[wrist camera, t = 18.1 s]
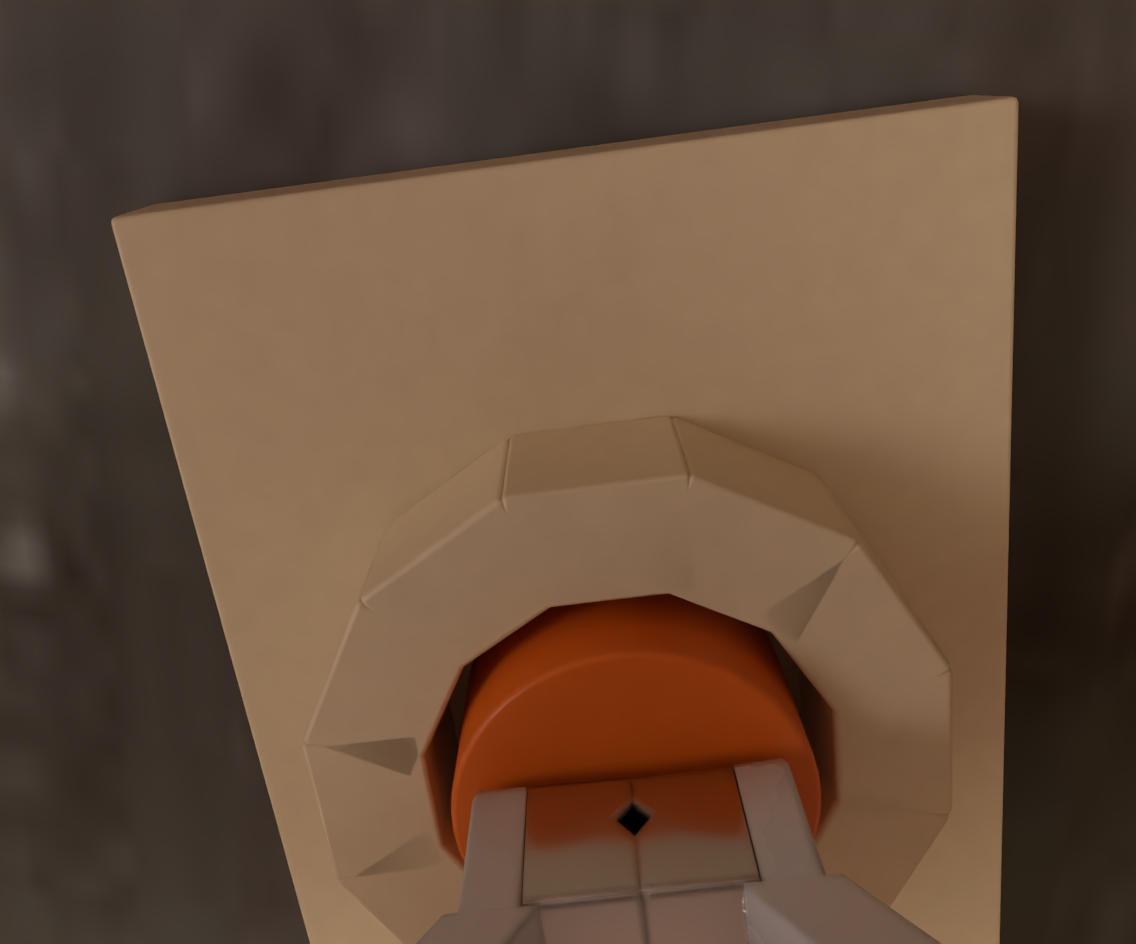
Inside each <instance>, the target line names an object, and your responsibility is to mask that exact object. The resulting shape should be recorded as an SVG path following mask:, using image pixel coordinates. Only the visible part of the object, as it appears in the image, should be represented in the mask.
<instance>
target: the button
mask: <svg viewBox="0 0 1136 944" xmlns="http://www.w3.org/2000/svg"><path fill="white" fill-rule="evenodd" d="M778 758H783V759H784V760H785V761H786V762H788V764H789V767H790V770H791V773H792V775H793V778H794V781H795V784H796V787H797V790H798V793H799V796H800V799H801V802H802V805H803V808H804V811H805V814H806V817H807V820H808V823H809V826H810V829H811V832H812V835H813V838H814V839H815V836H816V833H817V829H818V823H819V818H820V813H821V785H820V778H819V771H818V767H817V764H816V761H815V757H814V754H813V751H812V748H811V746H810V743H809V740H808V738H807V735H806V732H805V730H804V727H803V724H802V722H801V719H800V716H799V714H798V711H797V708H796V706H795V703H794V700H793V698H792V695H791V692H790V690H789V687H788V684H787V682H786V679H785V676H784V674H783V671H782V668H781V666H780V663H779V660H778V657H777V655H776V652H775V649H774V647H773V645H772V643H771V641H770V639H769V637H768V635H767V633H766V631H765V630H764V629H762V628H759V627H756V626H754V625H751V624H748V623H746V622H743V621H740V620H738V619H735V618H733V617H730V616H727V615H725V614H722V613H719V612H717V611H714V610H711V609H709V608H706V607H703V606H701V605H698V604H695V603H693V602H690V601H687V600H685V599H682V598H680V597H677V596H674V595H672V594H669V593H667V594H659V595H650V596H642V597H633V598H625V599H616V600H607V601H599V602H590V603H582V604H573V605H565V606H556V607H550V608H548V609H547V610H545V611H544V612H543V613H541V614H540V615H538V616H537V617H535V618H534V619H532V620H531V621H529V622H528V623H526V624H525V625H524V626H522V627H521V628H519V629H518V630H516V631H515V632H513V633H512V634H510V635H509V636H507V637H506V638H505V639H503V640H502V641H500V642H499V643H497V644H496V645H494V646H493V647H491V648H490V649H488V650H487V651H486V652H484V653H483V654H481V655H480V656H478V657H477V658H475V659H474V661H473V664H472V667H471V672H470V677H469V682H468V688H467V695H466V702H465V708H464V715H463V721H462V728H461V734H460V741H459V747H458V754H457V761H456V767H455V774H454V780H453V787H452V798H451V816H452V824H453V832H454V835H455V839H456V842H457V846H458V849H459V852H460V854H461V856H462V858H463V861H464V863H465V856H466V848H467V840H468V832H469V825H470V817H471V809H472V801H473V799H474V798H475V796H476V794H477V792H478V791H488V790H498V789H507V788H517V787H526V788H529V786H536V785H548V784H560V783H571V782H583V781H594V780H606V779H618V778H629V777H630V778H638V777H647V776H655V775H664V774H673V773H682V772H690V771H699V770H708V769H717V768H726V767H732V765H735V764H742V763H749V762H757V761H764V760H771V759H778Z"/></svg>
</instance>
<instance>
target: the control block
mask: <svg viewBox="0 0 1136 944" xmlns="http://www.w3.org/2000/svg"><path fill="white" fill-rule="evenodd" d="M1018 104H1019V103H1018V100H1017V98H1015V97H1009V96H985V95H967V96H959V97H952V98H944V99H937V100H929V101H922V102H914V103H907V104H900V105H892V106H885V107H877V108H870V109H862V110H855V111H847V112H840V113H832V114H825V115H817V116H810V117H802V118H795V119H788V120H780V121H773V122H765V123H758V124H750V125H743V126H735V127H728V128H720V129H713V130H705V131H698V132H691V133H683V134H676V135H668V136H661V137H653V138H646V139H638V140H631V141H623V142H616V143H608V144H601V145H593V146H586V147H579V148H571V149H564V150H556V151H549V152H541V153H534V154H526V155H519V156H511V157H504V158H496V159H489V160H481V161H474V162H467V163H459V164H452V165H444V166H437V167H429V168H422V169H414V170H407V171H399V172H392V173H384V174H377V175H369V176H362V177H355V178H347V179H340V180H332V181H325V182H317V183H310V184H302V185H295V186H287V187H280V188H272V189H265V190H258V191H250V192H243V193H235V194H228V195H220V196H213V197H205V198H198V199H190V200H183V201H175V202H168V203H160V204H154V205H151V206H148V207H144V208H141V209H138V210H135V211H132V212H128V213H125V214H122V215H119V216H116V217H114V218H113V219H112V223H111V225H112V228H113V232H114V235H115V239H116V243H117V246H118V250H119V253H120V257H121V261H122V264H123V268H124V272H125V275H126V279H127V282H128V286H129V290H130V293H131V297H132V301H133V304H134V308H135V311H136V315H137V319H138V322H139V326H140V329H141V333H142V337H143V340H144V344H145V348H146V351H147V355H148V358H149V362H150V366H151V369H152V373H153V377H154V380H155V384H156V387H157V391H158V395H159V398H160V402H161V405H162V409H163V413H164V416H165V420H166V424H167V427H168V431H169V434H170V438H171V442H172V445H173V449H174V453H175V456H176V460H177V463H178V467H179V471H180V474H181V478H182V481H183V485H184V489H185V492H186V496H187V500H188V503H189V507H190V510H191V514H192V518H193V521H194V525H195V529H196V532H197V536H198V539H199V543H200V547H201V550H202V554H203V558H204V561H205V565H206V568H207V572H208V576H209V579H210V583H211V586H212V590H213V594H214V597H215V601H216V605H217V608H218V612H219V615H220V619H221V623H222V626H223V630H224V634H225V637H226V641H227V644H228V648H229V652H230V655H231V659H232V662H233V666H234V670H235V673H236V677H237V681H238V684H239V688H240V691H241V695H242V699H243V702H244V706H245V710H246V713H247V717H248V720H249V724H250V728H251V731H252V735H253V738H254V742H255V746H256V749H257V753H258V757H259V760H260V764H261V767H262V771H263V775H264V778H265V782H266V786H267V789H268V793H269V796H270V800H271V804H272V807H273V811H274V814H275V818H276V822H277V825H278V829H279V833H280V836H281V840H282V843H283V847H284V851H285V854H286V858H287V862H288V865H289V869H290V872H291V876H292V880H293V883H294V887H295V890H296V894H297V898H298V901H299V905H300V909H301V912H302V916H303V919H304V923H305V927H306V930H307V934H308V938H309V941H310V944H416V943H417V942H418V941H419V940H420V939H421V937H422V936H423V935H424V934H425V933H426V932H427V931H428V930H429V929H430V928H431V927H432V926H433V925H434V924H435V923H436V922H437V920H438V919H439V918H440V917H441V916H442V915H446V914H454V913H458V910H459V903H460V895H461V887H462V879H463V871H464V864H465V863H464V861H463V858H462V856H461V854H460V852H459V849H458V846H457V842H456V839H455V835H454V832H453V824H452V816H451V798H452V787H453V780H454V774H455V767H456V761H457V754H458V747H459V741H460V734H461V728H462V721H463V715H464V708H465V702H466V695H467V688H468V682H469V677H470V672H471V667H472V664H473V661H474V659H475V658H477V657H478V656H480V655H481V654H483V653H484V652H486V651H487V650H488V649H490V648H491V647H493V646H494V645H496V644H497V643H499V642H500V641H502V640H503V639H505V638H506V637H507V636H509V635H510V634H512V633H513V632H515V631H516V630H518V629H519V628H521V627H522V626H524V625H525V624H526V623H528V622H529V621H531V620H532V619H534V618H535V617H537V616H538V615H540V614H541V613H543V612H544V611H545V610H547V609H548V608H550V607H556V606H565V605H573V604H582V603H590V602H599V601H607V600H616V599H625V598H633V597H642V596H650V595H659V594H667V593H669V594H672V595H674V596H677V597H680V598H682V599H685V600H687V601H690V602H693V603H695V604H698V605H701V606H703V607H706V608H709V609H711V610H714V611H717V612H719V613H722V614H725V615H727V616H730V617H733V618H735V619H738V620H740V621H743V622H746V623H748V624H751V625H754V626H756V627H759V628H762V629H764V630H765V631H766V633H767V635H768V637H769V639H770V641H771V643H772V645H773V647H774V649H775V652H776V655H777V657H778V660H779V663H780V666H781V668H782V671H783V674H784V676H785V679H786V682H787V684H788V687H789V690H790V692H791V695H792V698H793V700H794V703H795V706H796V708H797V711H798V714H799V716H800V719H801V722H802V724H803V727H804V730H805V732H806V735H807V738H808V740H809V743H810V746H811V748H812V751H813V754H814V757H815V761H816V764H817V767H818V771H819V778H820V785H821V813H820V818H819V823H818V829H817V833H816V836H815V839H814V841H815V844H816V847H817V850H818V853H819V856H820V859H821V862H822V865H823V868H824V871H825V874H826V875H830V874H843V875H845V876H846V877H848V878H849V879H850V880H852V881H853V882H855V883H856V884H858V885H859V886H860V887H862V888H863V889H865V890H866V891H867V892H869V893H870V894H872V895H873V896H875V897H876V898H877V899H879V900H880V901H882V902H883V903H885V904H886V905H887V906H889V907H890V908H892V909H893V910H895V911H896V912H897V913H899V914H900V915H902V916H903V917H904V918H906V919H907V920H909V921H910V922H912V923H913V924H914V925H916V926H917V927H919V928H920V929H922V930H923V931H924V932H926V933H927V934H929V935H930V936H931V937H933V938H934V939H936V940H937V941H939V942H940V943H941V944H1000V902H1001V858H1002V814H1003V769H1004V725H1005V681H1006V636H1007V592H1008V547H1009V503H1010V459H1011V414H1012V370H1013V326H1014V281H1015V237H1016V192H1017V148H1018Z"/></svg>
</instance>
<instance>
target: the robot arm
mask: <svg viewBox="0 0 1136 944" xmlns="http://www.w3.org/2000/svg"><path fill="white" fill-rule="evenodd" d="M416 944H941V943H940V942H939V941H937V940H936V939H934V938H933V937H931V936H930V935H929V934H927V933H926V932H924V931H923V930H922V929H920V928H919V927H917V926H916V925H914V924H913V923H912V922H910V921H909V920H907V919H906V918H904V917H903V916H902V915H900V914H899V913H897V912H896V911H895V910H893V909H892V908H890V907H889V906H887V905H886V904H885V903H883V902H882V901H880V900H879V899H877V898H876V897H875V896H873V895H872V894H870V893H869V892H867V891H866V890H865V889H863V888H862V887H860V886H859V885H858V884H856V883H855V882H853V881H852V880H850V879H849V878H848V877H846V876H845V875H843V874H830V875H826V874H825V871H824V868H823V865H822V862H821V859H820V856H819V853H818V850H817V847H816V844H815V841H814V838H813V835H812V832H811V829H810V826H809V823H808V820H807V817H806V814H805V811H804V808H803V805H802V802H801V799H800V796H799V793H798V790H797V787H796V784H795V781H794V778H793V775H792V773H791V770H790V767H789V764H788V762H786V761H785V760H784V759H783V758H778V759H771V760H764V761H757V762H749V763H742V764H735V765H732V767H726V768H717V769H708V770H699V771H690V772H682V773H673V774H664V775H655V776H647V777H638V778H630V777H629V778H618V779H606V780H594V781H583V782H571V783H560V784H548V785H536V786H529V788H526V787H517V788H507V789H498V790H488V791H478V792H477V794H476V796H475V798H474V799H473V801H472V809H471V817H470V825H469V832H468V840H467V848H466V856H465V864H464V871H463V879H462V887H461V895H460V903H459V910H458V913H454V914H446V915H442V916H441V917H440V918H439V919H438V920H437V922H436V923H435V924H434V925H433V926H432V927H431V928H430V929H429V930H428V931H427V932H426V933H425V934H424V935H423V936H422V937H421V939H420V940H419V941H418V942H417V943H416Z"/></svg>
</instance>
